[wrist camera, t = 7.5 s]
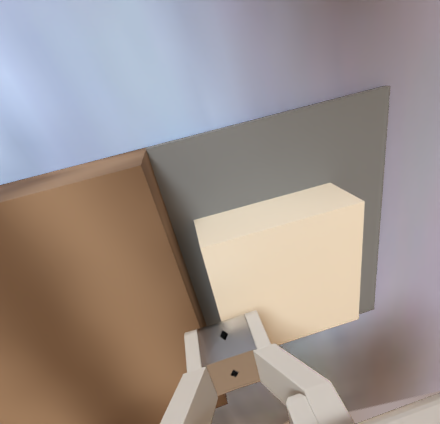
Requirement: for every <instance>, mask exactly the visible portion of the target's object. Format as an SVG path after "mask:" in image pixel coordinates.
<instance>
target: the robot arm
mask: <svg viewBox="0 0 440 424" xmlns="http://www.w3.org/2000/svg"><path fill="white" fill-rule="evenodd" d="M184 342H185V354H186V366H187V373H184V374H183V375H182V378H181V380H180V382H179V384H178V386H177V388H176V390H175V392H174V395H173V397H172V399H171V401H170V403H169V405H168V407H167V409H166V412H165V414H164V416H163V418H162V420H161V422H160V424H211V422H212V418H213V415H214V411H215V407H216V404H217V400H218V396H219V395H222V394H225V393H227V392H230V391H233V390H235V389H238V388H241V387H244V386H247V385H250V384H254V383H257V382H260V381H261V383H262V384H263V385H264V386H265V387H266V388H267V389H268V390H269V391H270V392H271V393H272V394H273V395H275V396H276V397H277V398H278V399H279V400H280V401H281V402H282V403H283V404H284V405H285V406H286V407H287V412H288V418H289V423H290V424H355V423H354V421H353V419H352V418H351V416H350V414H349V412H348V411H347V409H346V407H345V405H344V404H343V402H342V400H341V398H340V397H339V395H338V393H337V392H336V390H335V388H334V386H333V385H332V383H331V381H329V380H328V379H326V378H325V377H324V376H322V375H321V374H319V373H318V372H316V371H315V370H313V369H312V368H310V367H309V366H307V365H306V364H305V363H303V362H302V361H300V360H299V359H297V358H296V357H294V356H293V355H291V354H290V353H288V352H287V351H286V350H284V349H283V348H281V347H280V346H278V345H277V344H275V343H274V344H271V342H270V340H269V338H268V335H267V333H266V331H265V328H264V326H263V324H262V321H261V319H260V317H259V314H258V312H257V311H256V310H255V311H252V312H248V313H245V314H242V315H239V316H236V317H233V318H230V319H227V320H224V321H221V322H219V323H216V324H212V325H209V326H205V327H202V328H198V329H196V330H192V331H189V332H186V333H185V334H184ZM356 424H440V393H437V394H435V395H432V396H429V397H427V398H424V399H421V400H419V401H416V402H413V403H411V404H408V405H405V406H403V407H400V408H397V409H394V410H392V411H389V412H386V413H383V414H381V415H378V416H375V417H373V418H370V419H367V420H364V421H362V422H359V423H356Z"/></svg>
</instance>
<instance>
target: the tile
mask: <svg viewBox="0 0 440 424" xmlns="http://www.w3.org/2000/svg"><path fill="white" fill-rule="evenodd" d="M364 206H365V201H363V200H361V199H359V198H358V197H356V196H354V195H352V194H350V193H348V192H347V191H345V190H343V189H341V188H339V187H337V186H336V185H334V184H332V183H327V184H323V185H320V186H316V187H312V188H309V189H305V190H301V191H298V192H294V193H291V194H287V195H283V196H280V197H276V198H272V199H269V200H265V201H261V202H258V203H254V204H250V205H247V206H243V207H239V208H236V209H232V210H229V211H225V212H221V213H218V214H214V215H210V216H207V217H203V218H199V219H196V220H194V224H195V228H196V232H197V237H198V241H199V245H200V249H201V253H202V256H203V260H204V263H205V267H206V270H207V274H208V277H209V281H210V284H211V288H212V291H213V294H214V298H215V301H216V305H217V308H218V312H219V315H220V319H221V321H224V320H227V319H230V318H233V317H236V316H239V315H242V314H245V313H248V312H252V311H255V310H256V311H257V312H258V314H259V317H260V319H261V321H262V324H263V326H264V328H265V331H266V333H267V335H268V338H269V340H270V342H271V344H274V343H275V344H277V345H281V344H284V343H287V342H290V341H293V340H296V339H299V338H302V337H305V336H308V335H311V334H314V333H317V332H320V331H323V330H326V329H330V328H333V327H336V326H339V325H342V324H345V323H348V322H351V321H354V320H357V319H359V301H360V282H361V263H362V244H363V225H364Z"/></svg>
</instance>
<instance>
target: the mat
mask: <svg viewBox="0 0 440 424" xmlns="http://www.w3.org/2000/svg"><path fill="white" fill-rule="evenodd" d="M389 96H390V86H382V87H378V88H374V89H370V90H367V91H363V92H359V93H355V94H351V95H347V96H343V97H339V98H336V99H332V100H328V101H324V102H320V103H316V104H312V105H309V106H305V107H301V108H297V109H293V110H289V111H285V112H281V113H278V114H274V115H270V116H266V117H262V118H258V119H254V120H251V121H247V122H243V123H239V124H235V125H231V126H227V127H223V128H220V129H216V130H212V131H208V132H204V133H200V134H196V135H193V136H189V137H185V138H181V139H177V140H173V141H169V142H165V143H162V144H158V145H154V146H150V147H146V151H147V154H148V157H149V160H150V163H151V166H152V169H153V172H154V175H155V177H156V180H157V183H158V186H159V189H160V192H161V195H162V198H163V201H164V204H165V206H166V209H167V212H168V215H169V218H170V221H171V224H172V227H173V230H174V233H175V235H176V238H177V241H178V244H179V247H180V250H181V253H182V256H183V259H184V261H185V264H186V267H187V270H188V273H189V276H190V279H191V282H192V285H193V288H194V290H195V293H196V296H197V299H198V302H199V305H200V308H201V311H202V314H203V317H204V319H205V322H206V325H207V326H209V325H212V324H216V323H219V322H221V319H220V315H219V312H218V308H217V305H216V301H215V298H214V294H213V291H212V288H211V284H210V281H209V277H208V274H207V270H206V267H205V263H204V260H203V256H202V253H201V249H200V245H199V241H198V237H197V232H196V228H195V224H194V220H196V219H199V218H203V217H207V216H210V215H214V214H218V213H221V212H225V211H229V210H232V209H236V208H239V207H243V206H247V205H250V204H254V203H258V202H261V201H265V200H269V199H272V198H276V197H280V196H283V195H287V194H291V193H294V192H298V191H301V190H305V189H309V188H312V187H316V186H320V185H323V184H327V183H332V184H334V185H336V186H337V187H339V188H341V189H343V190H345V191H347V192H348V193H350V194H352V195H354V196H356V197H358V198H359V199H361V200H363V201H365V206H364V225H363V244H362V263H361V282H360V301H359V314H361V313H364V312H367V311H370V310H373V309H374V302H375V288H376V274H377V261H378V247H379V233H380V220H381V206H382V192H383V178H384V165H385V151H386V137H387V124H388V110H389Z"/></svg>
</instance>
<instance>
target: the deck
mask: <svg viewBox="0 0 440 424" xmlns="http://www.w3.org/2000/svg"><path fill="white" fill-rule="evenodd" d="M205 326H207V325H206V322H205V319H204V317H203V314H202V311H201V308H200V305H199V302H198V299H197V296H196V293H195V290H194V288H193V285H192V282H191V279H190V276H189V273H188V270H187V267H186V264H185V261H184V259H183V256H182V253H181V250H180V247H179V244H178V241H177V238H176V235H175V233H174V230H173V227H172V224H171V221H170V218H169V215H168V212H167V209H166V206H165V204H164V201H163V198H162V195H161V192H160V189H159V186H158V183H157V180H156V177H155V175H154V172H153V169H152V166H151V163H150V160H149V157H148V154H147V151H146V148H142V149H138V150H135V151H131V152H127V153H123V154H119V155H115V156H111V157H107V158H104V159H100V160H96V161H92V162H88V163H84V164H80V165H77V166H73V167H69V168H65V169H61V170H57V171H53V172H49V173H46V174H42V175H38V176H34V177H30V178H26V179H22V180H19V181H15V182H11V183H7V184H3V185H0V424H160V422H161V420H162V418H163V416H164V414H165V412H166V409H167V407H168V405H169V403H170V401H171V399H172V397H173V395H174V392H175V390H176V388H177V386H178V384H179V382H180V380H181V378H182V375H183V374H184V373H187V366H186V354H185V342H184V334H185V333H186V332H189V331H192V330H196V329H198V328H202V327H205ZM226 404H228V403H227V398H226V393H225V394H222V395H219V396H218V400H217V404H216V407H215V408H218V407H220V406H223V405H226Z"/></svg>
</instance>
